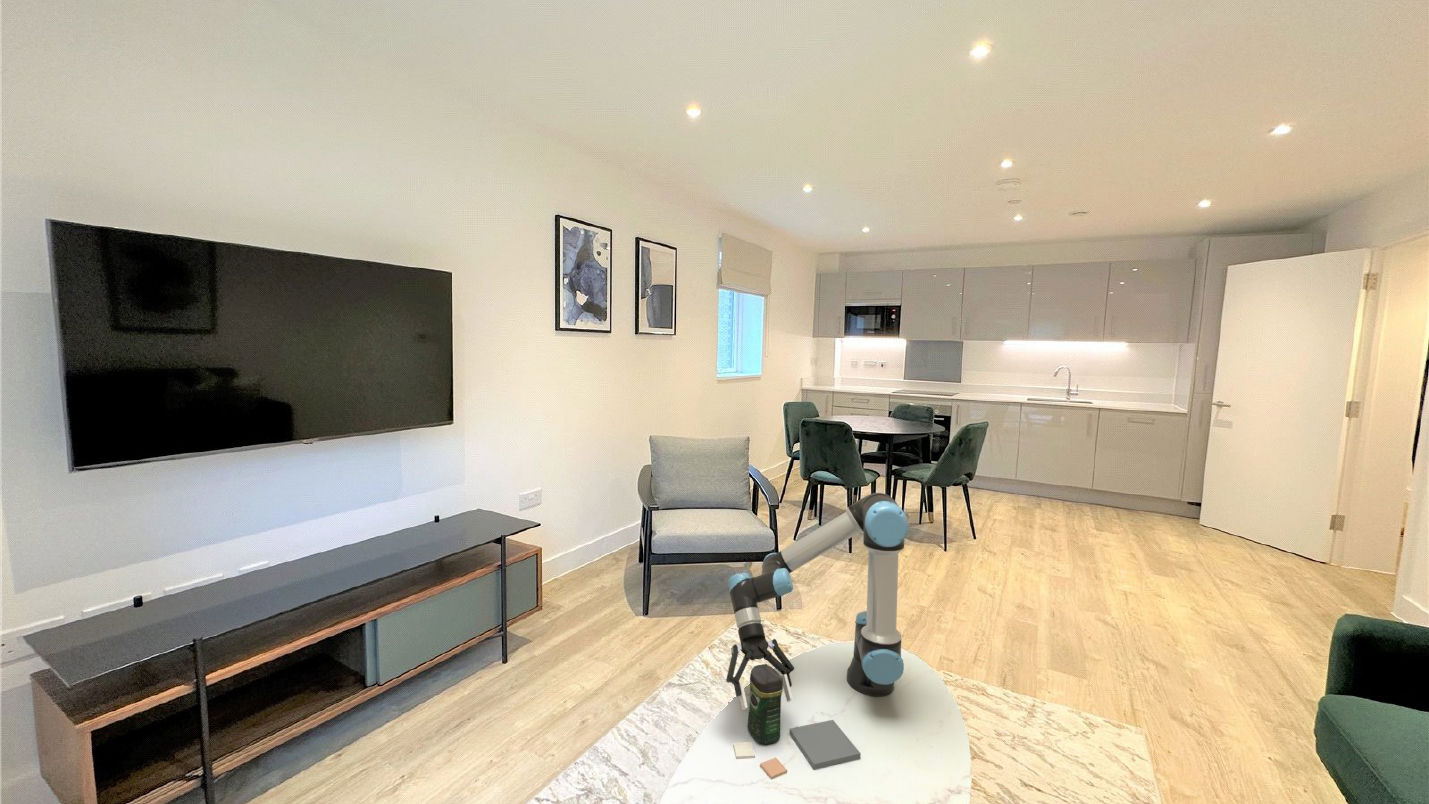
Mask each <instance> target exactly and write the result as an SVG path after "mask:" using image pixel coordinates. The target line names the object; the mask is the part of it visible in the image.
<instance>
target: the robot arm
mask: <svg viewBox="0 0 1429 804" xmlns="http://www.w3.org/2000/svg"><path fill="white" fill-rule="evenodd" d="M859 533H860V534H863V536H862V537H863V541H862V542H863V544H862V545H863V546H864V547H865V548H866V549H867V550H868V551H867V554H868V555H867V559H868V560H867V591H866V592H867V595H866V610H865V611H860V612H858V613H857V614H856V617H855V621H854V622H855V627H854V628H855V629H854V630H855V631H854V642H853V643H854V645H853V656H852V659H851V661H850V664H849V666H848V668H847V669H846V682H847V683H848V684H849V686H850V687H851V688H852V689H854V690H855V691H857V692H858V693H861V694H864V695H867V696H871V697H884V696H887V695H890V694H891V693H892V692H893V691H894V690H895V682H897V681H898V680H900V679H901V677H902V676H903V674H904V671H905V670H904V669H905V667H904V665H905V664H904V659H903V657H902V634H901V632H900V631H899V630H898V629H897V617H898V616H897V615H898V614H897V613H898V612H897V611H898V581H899V579H898V578H899V577H898V576H899V554H900V552H902V551H903V550H904V549H905V539H906V537H907V536H908V533H909V522H908V517H907V515H906V513H905V512H904V511H903V509H902V507H900V506H899V504H898V503H897V502H896V500H895V499H894V498H893V497H891V495H888V494H886V493H882V492H874V493H870V494H868V495H866V496H864V497H862V498H860V499H859V500H856V501H855V502H854V503H851V505H849V506H847V508H846V511H845V512H844V513H842V514H840V515H838V516H837V517H835V518H834V519H832V520H830V521H829V522H826V523H825V524H824V525H822V526H820V527H819V528H817V529H815V530H813V531H812V532H811V533H808V534H807V535H805V536H803V537H802V538H800V539H799V540H796V541H795V542H794V543H792V544H790V545H789V546H787V547H785V548H784V549H782V550H780V551H778V552H771V553H769V554H767V555H766V556H765V557H764V559H763V562H762V563H761V574H760V575H758V576H754V577H751V574H749V573H746V572H741V573H735V574H734V575H731V577H729V578H728V580H727V585H728V589H729V590H728V591H729V597H730V600H731V605H732V610H733V615H734V618H735V622H736V627H737V628H738V629H737V633H738V637H739V642H740V645H738V644H733V645H732V646H731V648H730V650H731V651H730V652H731V657H730V660H729V661H730V663H729V666H728V670H727V674H726V675H727V676H726V681H725V682H726V683H728V684H729V683H731V684H732V685H733V689H734V692H735V695H736V697H739V701H740V707H741V710H742V711H743V710H746V709H747V708H749V707H748V703H747V698H746V697H747V696H746V692H745V688H744V687H745V686H744V684H743V681H740V679H741V677H742V675H743V673H744V671H745V669H746V667H747V665H748V663H749V661H756V660H762V659H764V660H765V661H767V662H768V663H769V664H770V665H772V667H773V668H774V669H775V670H776V671H777V672H778V673H779V674H780V675H781V677H782V679H783V691H784V695H785V699H786V702H787V703H789V702H791V701H792V700H794V698H793V694H792V690H791V687H792V686H793V683H792V680H791V675H790V674H791V673H792V672H793V671H795V666H794V665H793V664H792V662H791V661H790V659H789V658H788V657H787V656H786V655H785V653H784V652H783V650H782V649H781V647H780V646H779V644H778V641H777V639H776V638H773V639H772V640H770V641H767V639H766V635H765V631H764V625H763V624H762V617H761V613H760V610H759V606H758V603H759V604H760V603H762V602H765V601H768V600H772V599H774V598H779V597H784V596H785V595H788V594H790V593H792V592H793V590H794V585H793V580H792V577H791V573H793V572H795V571H796V570H798V569H799V568H801V567H803V566H804V565H806V564H808V563H810V562H811V561H813V560H814V559H817V558H818V557H821V556H822V555H823V554H825V553H827V552H829V551H830V550H832V549H834V548H836V547H837V546H839V545H841V544H842V543H844V542H845V541H847V540H849V539H851V538H853V537H854V536H856V535H858V534H859ZM768 648H770V649H771V650H772V652H773V653H772V652H770V650H769V649H768ZM740 651H741V653H743V654H744V656H743V658H742V660H741V662H740V665H739V667H738V670H737V671H736V673H735V670H736V665H737V659H738V655H739V653H740ZM773 654H774V655H775V656H776V657H777V658H776V657H775V656H774V655H773ZM734 674H735V675H734Z"/></svg>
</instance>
